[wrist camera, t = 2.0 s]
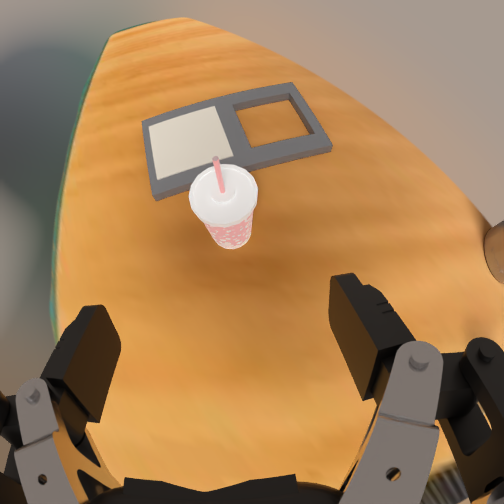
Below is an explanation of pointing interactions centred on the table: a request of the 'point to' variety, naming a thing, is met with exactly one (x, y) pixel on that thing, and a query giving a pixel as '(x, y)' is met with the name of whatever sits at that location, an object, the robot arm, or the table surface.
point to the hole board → (222, 138)
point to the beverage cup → (225, 202)
